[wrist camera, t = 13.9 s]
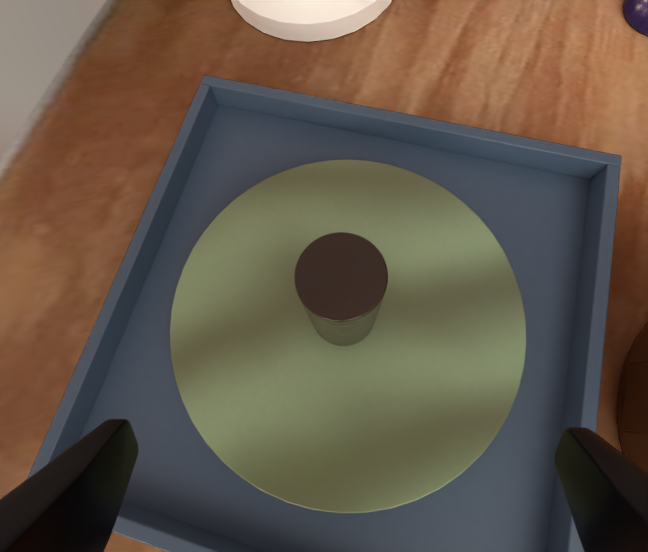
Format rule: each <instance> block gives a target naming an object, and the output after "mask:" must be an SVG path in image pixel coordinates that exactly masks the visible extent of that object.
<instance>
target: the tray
mask: <svg viewBox="0 0 648 552" xmlns="http://www.w3.org/2000/svg"><path fill="white" fill-rule="evenodd" d="M346 159H348V160H365V161H373V162H378V163H384V164H389V165H393V166H396V167H399V168H403V169H406V170H409V171H411V172H414V173H416V174H418V175H421V176H423V177H425V178H428V179H429V180H431V181H433V182H435V183H436V184H438V185H440V186H442V187H443V188H445V189H447V190H448V191H449V192H451V193H452V194H453V195H455V196H456V197H457V198H459V199H460V200H461V201H463V202H464V203H465V204H466V205H467V206H468V207H469V208H470V209H471V210H472V211H473V212H474V213H475V214H476V215H478V216H479V218H480V219H481V220H482V221H483V222H484V224H485V225H486V226H487V227H488V229H489V230H490V231H491V232H492V233H493V235H494V236H495V238H496V240H497V241H498V243H499V244H500V246H501V248H502V249H503V251H504V252H505V254H506V256H507V258H508V261H509V263H510V265H511V267H512V269H513V271H514V274H515V277H516V280H517V283H518V286H519V289H520V293H521V296H522V302H523V307H524V313H525V319H526V352H525V362H524V369H523V373H522V377H521V381H520V386H519V390H518V393H517V395H516V398H515V400H514V403H513V405H512V408H511V410H510V413H509V415H508V417H507V418H506V420H505V422H504V424H503V425H502V427H501V429H500V430H499V432H498V434H497V436H496V437H495V438H494V440H493V441H492V442H491V443H490V445H489V446H488V447H487V448H486V450H485V451H484V452H483V453H482V455H481V456H480V457H479V458H478V459H477V460H476V461H475V462H474V463H473V464H471V465H470V466H469V467H468V468H467V469H466V470H465V471H464V472H463V473H462V474H461V475H459V476H458V477H456V478H455V479H453V480H452V481H451V482H449V483H448V484H446V485H445V486H443V487H442V488H440V489H439V490H437V491H435V492H433V493H431V494H429V495H427V496H425V497H423V498H420V499H418V500H416V501H413V502H410V503H407V504H404V505H401V506H398V507H395V508H392V509H386V510H380V511H374V512H368V513H332V512H325V511H317V510H311V509H308V508H304V507H301V506H297V505H294V504H290V503H287V502H285V501H282V500H280V499H278V498H276V497H274V496H271V495H269V494H267V493H265V492H263V491H261V490H260V489H258V488H256V487H255V486H253V485H252V484H250V483H249V482H247V481H245V480H244V479H242V478H241V477H240V476H239V475H238V474H236V473H235V472H234V471H233V470H232V469H231V468H229V467H228V466H227V465H226V464H225V463H224V462H222V460H221V459H220V458H219V457H218V456H217V455H216V454H215V452H214V451H213V450H212V449H211V448H210V447H209V446H208V445H207V443H206V442H205V440H204V439H203V437H202V436H201V434H200V433H199V431H198V430H197V428H196V427H195V425H194V424H193V422H192V420H191V418H190V416H189V414H188V412H187V410H186V408H185V405H184V403H183V401H182V398H181V395H180V392H179V389H178V386H177V383H176V380H175V375H174V370H173V364H172V359H171V348H170V323H171V311H172V306H173V301H174V296H175V292H176V287H177V285H178V282H179V279H180V276H181V273H182V270H183V267H184V265H185V263H186V261H187V259H188V257H189V255H190V253H191V251H192V249H193V247H194V246H195V244H196V243H197V241H198V240H199V238H200V237H201V235H202V234H203V232H204V231H205V229H206V228H207V227H208V226H209V225H210V224H211V222H212V221H213V220H214V219H215V218H216V216H217V215H218V214H219V213H220V212H221V211H222V210H224V209H225V208H226V207H227V206H228V205H229V204H230V203H231V202H232V201H233V200H234V199H236V198H237V197H239V196H240V195H241V194H243V193H244V192H245V191H247V190H248V189H249V188H251V187H253V186H255V185H256V184H258V183H260V182H262V181H263V180H265V179H267V178H269V177H271V176H274V175H276V174H278V173H281V172H283V171H285V170H288V169H292V168H295V167H298V166H302V165H305V164H310V163H316V162H322V161H329V160H346ZM620 166H621V156H620V155H615V154H610V153H605V152H599V151H594V150H589V149H584V148H579V147H574V146H568V145H563V144H558V143H553V142H548V141H543V140H537V139H532V138H527V137H522V136H517V135H512V134H506V133H501V132H496V131H491V130H486V129H481V128H475V127H470V126H465V125H460V124H455V123H450V122H444V121H439V120H434V119H429V118H424V117H419V116H413V115H408V114H403V113H398V112H393V111H388V110H382V109H377V108H372V107H367V106H362V105H357V104H352V103H346V102H341V101H336V100H331V99H326V98H321V97H315V96H310V95H305V94H300V93H295V92H290V91H284V90H279V89H274V88H269V87H264V86H259V85H253V84H248V83H243V82H238V81H233V80H228V79H222V78H217V77H212V76H207V75H204V76H203V78H202V81H201V84H200V85H199V88H198V90H197V92H196V94H195V97H194V99H193V101H192V104H191V106H190V108H189V110H188V113H187V115H186V117H185V119H184V122H183V124H182V126H181V129H180V131H179V133H178V135H177V138H176V140H175V142H174V145H173V147H172V149H171V151H170V154H169V156H168V158H167V161H166V163H165V165H164V167H163V170H162V172H161V174H160V177H159V179H158V181H157V183H156V186H155V188H154V190H153V193H152V195H151V197H150V199H149V202H148V204H147V206H146V209H145V211H144V213H143V215H142V218H141V220H140V222H139V224H138V227H137V229H136V231H135V234H134V236H133V238H132V240H131V243H130V245H129V247H128V250H127V252H126V254H125V256H124V259H123V261H122V263H121V266H120V268H119V270H118V272H117V275H116V277H115V279H114V282H113V284H112V286H111V288H110V291H109V293H108V295H107V298H106V300H105V302H104V304H103V307H102V309H101V311H100V314H99V316H98V318H97V320H96V323H95V325H94V327H93V329H92V332H91V334H90V336H89V339H88V341H87V343H86V345H85V348H84V350H83V352H82V355H81V357H80V359H79V361H78V364H77V366H76V368H75V371H74V373H73V375H72V377H71V380H70V382H69V384H68V387H67V389H66V391H65V393H64V396H63V398H62V400H61V403H60V405H59V407H58V409H57V412H56V414H55V416H54V419H53V421H52V423H51V425H50V428H49V430H48V432H47V434H46V437H45V439H44V441H43V444H42V446H41V448H40V450H39V453H38V455H37V457H36V460H35V462H34V464H33V466H32V469H31V471H30V473H29V476H28V478H29V477H31V476H32V475H33V474H35V473H36V472H37V471H39V470H40V469H41V468H43V467H44V466H45V465H47V464H48V463H49V462H51V461H52V460H53V459H55V458H56V457H57V456H59V455H60V454H62V453H63V452H64V451H66V450H67V449H68V448H70V447H71V446H72V445H74V444H75V443H76V442H78V441H79V440H80V439H82V438H83V437H84V436H86V435H87V434H88V433H90V432H91V431H92V430H94V429H95V428H96V427H98V426H99V425H100V424H102V423H103V422H104V421H106V420H108V419H127V420H128V421H130V423H131V426H132V428H133V431H134V434H135V437H136V439H137V442H138V446H139V452H138V457H137V460H136V463H135V466H134V469H133V472H132V475H131V478H130V481H129V484H128V487H127V490H126V493H125V496H124V499H123V502H122V505H121V508H120V511H119V514H118V517H117V520H116V522H115V525H114V528H113V532H115V533H118V534H121V535H123V536H126V537H129V538H132V539H134V540H137V541H140V542H142V543H145V544H148V545H151V546H153V547H156V548H159V549H161V550H164V551H167V552H584V549H583V547H582V544H581V541H580V538H579V536H578V533H577V530H576V527H575V524H574V521H573V518H572V515H571V511H570V508H569V505H568V502H567V499H566V496H565V493H564V490H563V487H562V484H561V481H560V478H559V475H558V472H557V469H556V465H555V452H556V449H557V446H558V443H559V441H560V438H561V435H562V432H563V430H564V429H565V428H567V427H585V428H588V429H590V430H592V431H593V432H595V433H596V426H597V415H598V405H599V394H600V383H601V372H602V362H603V351H604V340H605V329H606V318H607V308H608V297H609V286H610V275H611V265H612V254H613V243H614V232H615V222H616V211H617V200H618V189H619V179H620ZM28 478H27V479H28Z"/></svg>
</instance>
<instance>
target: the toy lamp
mask: <svg viewBox="0 0 648 552" xmlns="http://www.w3.org/2000/svg"><path fill="white" fill-rule="evenodd" d="M623 8H624V15H625V17H626V19H627V21H628V22H629V23H630V25H631V26H632V27H633V28H635V29H636V30H637V31H639V32H641V33H643V34H645V35H647V36H648V0H625V2H624V6H623Z"/></svg>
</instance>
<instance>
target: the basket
mask: <svg viewBox="0 0 648 552" xmlns="http://www.w3.org/2000/svg"><path fill="white" fill-rule="evenodd" d="M618 427H619V435H620V442H621V446H622V450H623V454H624V455H625V456H626V457H627V458H629V459H630V460H631V461H633V462H634V463H635V464H637V465H638V466H639V467H641V468H642V469H643V470H644V471H646V472H647V473H648V323H647V324H646V325H645V327H644V328H643V329H642V331H641V332H640V334H639V335H638V337H637V338H636V339H635V341H634V343H633V345H632V347H631V349H630V351H629V353H628V355H627V358H626V361H625V364H624V368H623V371H622V374H621V379H620V385H619V392H618Z"/></svg>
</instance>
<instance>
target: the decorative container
mask: <svg viewBox="0 0 648 552" xmlns="http://www.w3.org/2000/svg"><path fill="white" fill-rule="evenodd" d="M231 1H232V4H233V6H234V8H235V9H236V11H237V12H238V13H239V14H240V15H241V16H242V18H243V19H244V20H245V21H246V22H247V23H249V24H250V25H252V26H254V27H255V28H257V29H258V30H260V31H261V32H263V33H266V34H269V35H272V36H275V37H278V38H281V39H284V40H294V41H305V42H311V41H320V40H328V39H334V38H337V37H340V36H343V35H346V34H349V33H352V32H355V31H357V30H358V29H360V28H362V27H363V26H365V25H367V24H368V23H370V22H372V21H373V20H375V19H376V18H377V17H378V16H379V15H380V14H381V13H382V12H383V11H384V10H385V9H386V8H387V7H388V6H389V5H390V3H391V1H392V0H231Z"/></svg>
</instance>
